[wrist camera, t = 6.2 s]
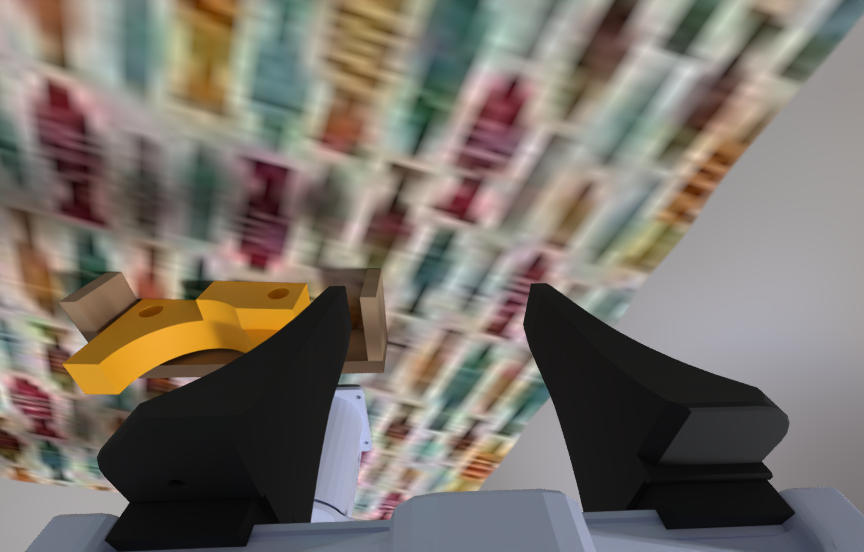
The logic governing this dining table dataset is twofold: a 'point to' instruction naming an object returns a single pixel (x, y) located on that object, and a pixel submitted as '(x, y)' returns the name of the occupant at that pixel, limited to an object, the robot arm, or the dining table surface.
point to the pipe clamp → (184, 330)
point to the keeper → (114, 298)
